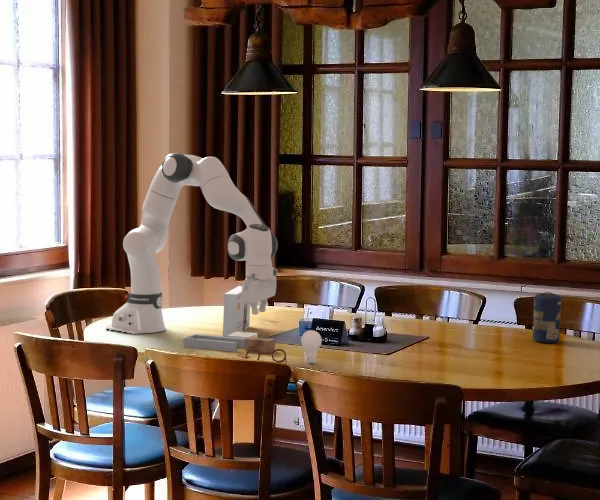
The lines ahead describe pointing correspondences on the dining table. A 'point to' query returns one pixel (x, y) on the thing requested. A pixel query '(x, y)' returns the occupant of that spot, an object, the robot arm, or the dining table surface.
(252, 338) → the walnut blank
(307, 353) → the light bulb
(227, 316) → the skincare box
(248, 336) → the ceramic pedestal
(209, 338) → the grey rectangular tray
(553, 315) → the canister
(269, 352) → the glasses
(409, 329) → the dining table surface
